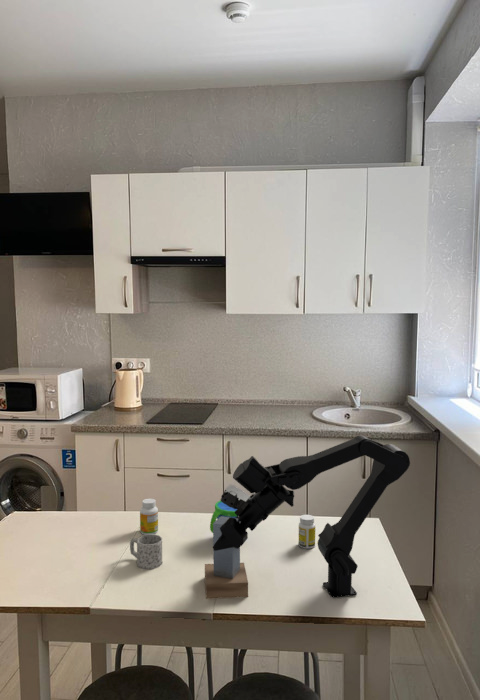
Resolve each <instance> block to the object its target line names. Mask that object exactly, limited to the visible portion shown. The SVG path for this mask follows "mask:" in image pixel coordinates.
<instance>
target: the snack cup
mask: <svg viewBox="0 0 480 700" xmlns="http://www.w3.org/2000/svg"><path fill="white" fill-rule="evenodd" d="M214 509H215V510H214V511H213V514H212V515H211V519H210V524H209V530H210V532H211V533H212V534H213V523H214V522H215V521H216V520H217V519H218V518H220V517H221V516H224V517H231V518H236V517H237V515H236V514H235V513H234V512H235V511H236V510H237V509H234V508H232V507H229V506H227V505H226V504H224V503H222V502H221V499H220V500H219V501H216V502H215V503H214Z"/></svg>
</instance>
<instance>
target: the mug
mask: <svg viewBox="0 0 480 700" xmlns="http://www.w3.org/2000/svg"><path fill="white" fill-rule="evenodd" d="M135 544H136V550H135ZM129 550H130V554H131V555H132V556H133V557H135V558H136V560H137V561H136V565H137V567H138V568H139V569H143V570H154V569H157V568H159V567H161V566H162V565H163V537H162V536H161V535H159V534H156V533H155V534H148V535H144V534H142V535H141V536H139V537H138V538H135V537H133V538H131V539H130V542H129Z"/></svg>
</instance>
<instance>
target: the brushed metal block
mask: <svg viewBox="0 0 480 700" xmlns="http://www.w3.org/2000/svg"><path fill="white" fill-rule="evenodd" d="M229 518H231V517H224V516H221V517H220V518H218V519H216V521H215V522H214V523H213V533H212V536H213V538H212V539H213V541H212V543H213V544H212V545H213V546H214V544H215V543H216V541H217V540H218V539H219V537H220V536H221V534H222V533H221V531H220V527H221V526H222V524H223V523H224V522H225V521H226V520H228V519H229ZM235 519H236V520H237V521H238V522H240V520H239V518H235ZM213 546H212V547H213ZM212 549H213V548H212ZM212 552H213V553H212V554H213V558H212V559H213V560H212V561H213V564H214V575H215V576H220V577H226V578H232V579H233V578H234V577H235V575H236V574H237V573H238V572H239V570H240V563H241V546H240V547H239V548H238V549H237V548H235V547H234V548H227V549H222V550H217V551H215V550H214V549H213V551H212Z"/></svg>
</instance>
